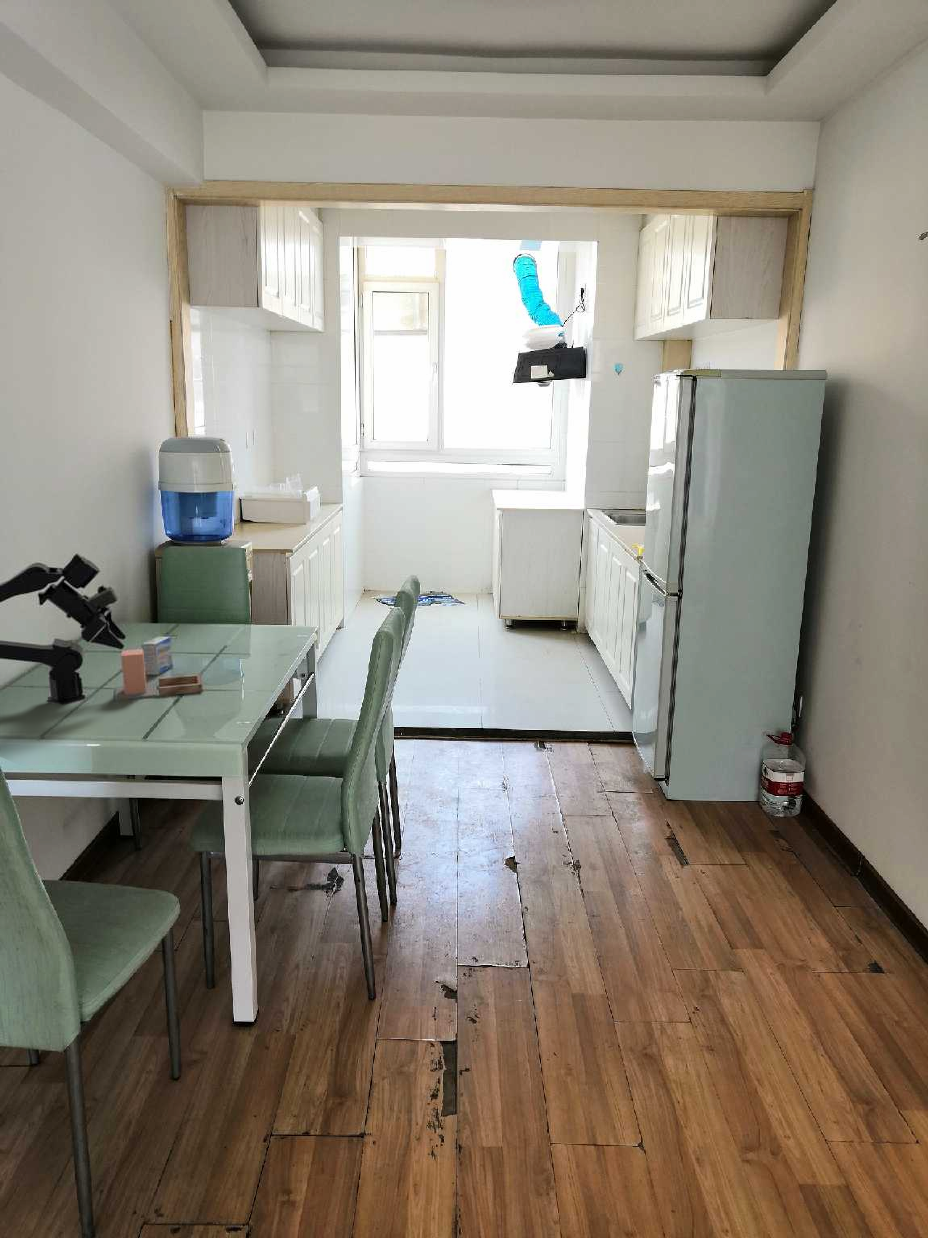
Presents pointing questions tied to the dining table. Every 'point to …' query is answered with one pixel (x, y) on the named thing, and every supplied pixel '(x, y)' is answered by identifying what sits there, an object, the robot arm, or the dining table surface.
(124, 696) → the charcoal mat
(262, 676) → the dining table surface
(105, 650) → the dining table surface
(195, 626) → the dining table surface
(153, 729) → the dining table surface
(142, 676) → the salmon orange rectangular block
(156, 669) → the medicine box
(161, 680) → the frame
